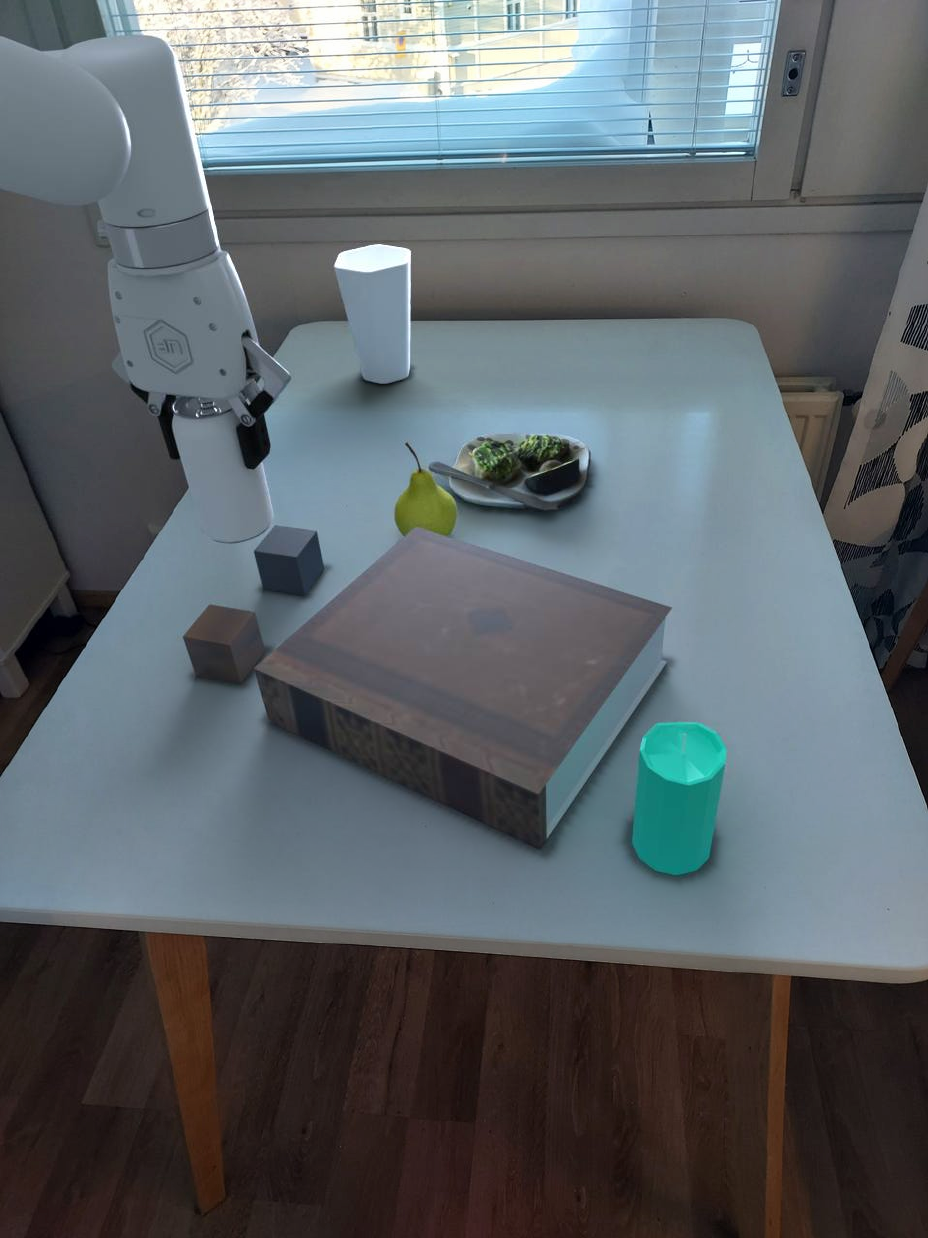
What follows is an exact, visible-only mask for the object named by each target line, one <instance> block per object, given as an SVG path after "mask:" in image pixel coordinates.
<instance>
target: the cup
mask: <svg viewBox="0 0 928 1238" xmlns="http://www.w3.org/2000/svg"><path fill="white" fill-rule="evenodd" d="M411 254H412V253H411V250H410V249H408V248H405V247H398V246H392V245H387V244H371V245H367V246H362V247H358V248H355V249H349V250H344V251H342V252H340V253H339V254H338V255H337V258H336V260H335V262H334V264H333V268H334V273H335V276H336V280H337V284H338V287H339V288H338V289H339V292H340V296H341V299H342V302H343V303H342V304H343V307H344V310H345V315H346V318H347V322H348V326H349V330H350V333H351V337H352V341H353V344H354V348H355V353H356V356H357V360H358V364H359V367H360V372H361V375H362V379H363V380H365V381H367V382H372V383H377V384H381V385H382V384H384V385H385V384H390V383H394V382H398V381H400V380H405V379H406V378H408V377H409V374H410V369H411V269H412V268H411V261H412V260H411V259H412V258H411V257H412V256H411Z"/></svg>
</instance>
